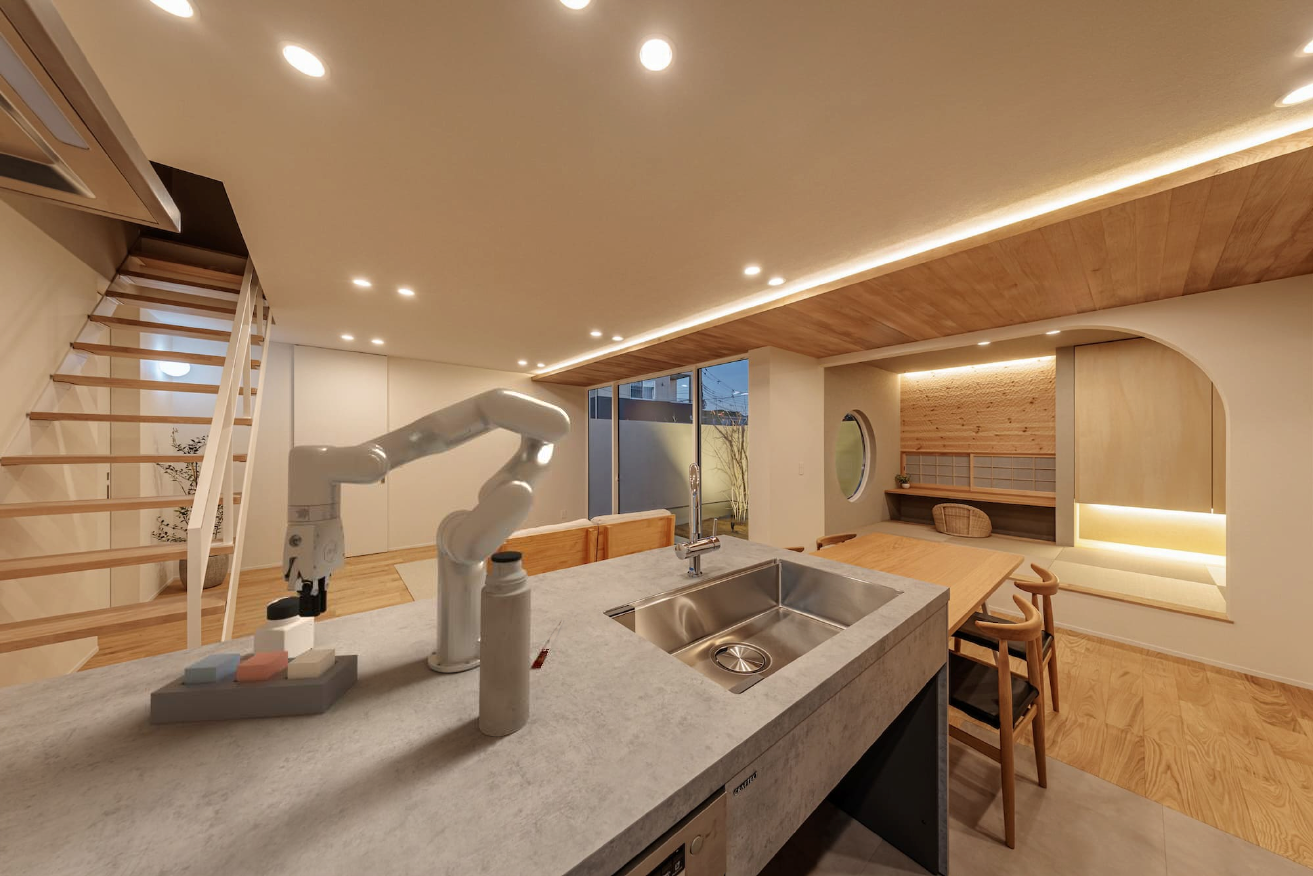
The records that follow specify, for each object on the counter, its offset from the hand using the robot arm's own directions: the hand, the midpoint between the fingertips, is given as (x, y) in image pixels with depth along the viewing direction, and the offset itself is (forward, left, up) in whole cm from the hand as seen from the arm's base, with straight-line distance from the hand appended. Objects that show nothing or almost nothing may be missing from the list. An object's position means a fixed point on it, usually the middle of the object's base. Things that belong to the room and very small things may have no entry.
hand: (312, 614), depth 77 cm
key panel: (+8, 0, -15) cm, 17 cm away
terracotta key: (+8, 0, -11) cm, 14 cm away
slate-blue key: (+16, 0, -11) cm, 19 cm away
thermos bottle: (-36, +10, -15) cm, 40 cm away
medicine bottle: (+16, -17, -15) cm, 28 cm away
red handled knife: (-40, -18, -16) cm, 47 cm away
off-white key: (0, 0, -11) cm, 11 cm away
